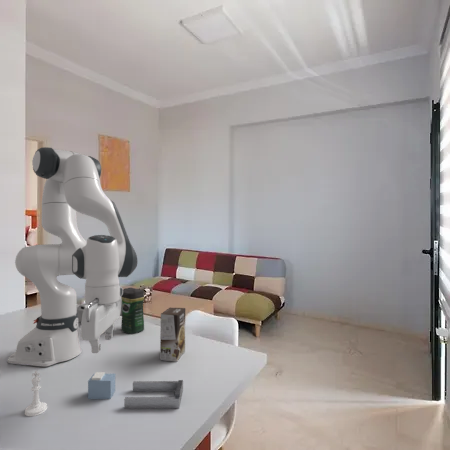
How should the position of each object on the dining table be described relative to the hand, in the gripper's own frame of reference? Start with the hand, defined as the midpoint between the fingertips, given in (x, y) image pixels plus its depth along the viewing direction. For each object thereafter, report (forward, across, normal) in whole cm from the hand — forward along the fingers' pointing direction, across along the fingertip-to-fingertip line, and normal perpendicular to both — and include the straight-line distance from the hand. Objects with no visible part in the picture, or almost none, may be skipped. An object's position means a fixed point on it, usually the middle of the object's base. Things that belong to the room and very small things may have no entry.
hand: (102, 345), depth 87 cm
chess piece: (+14, -6, +14) cm, 21 cm away
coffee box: (+14, +26, -16) cm, 33 cm away
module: (+14, +1, 0) cm, 14 cm away
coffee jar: (+13, +51, +5) cm, 53 cm away
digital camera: (+13, +65, +28) cm, 72 cm away
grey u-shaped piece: (+14, -1, -15) cm, 20 cm away
